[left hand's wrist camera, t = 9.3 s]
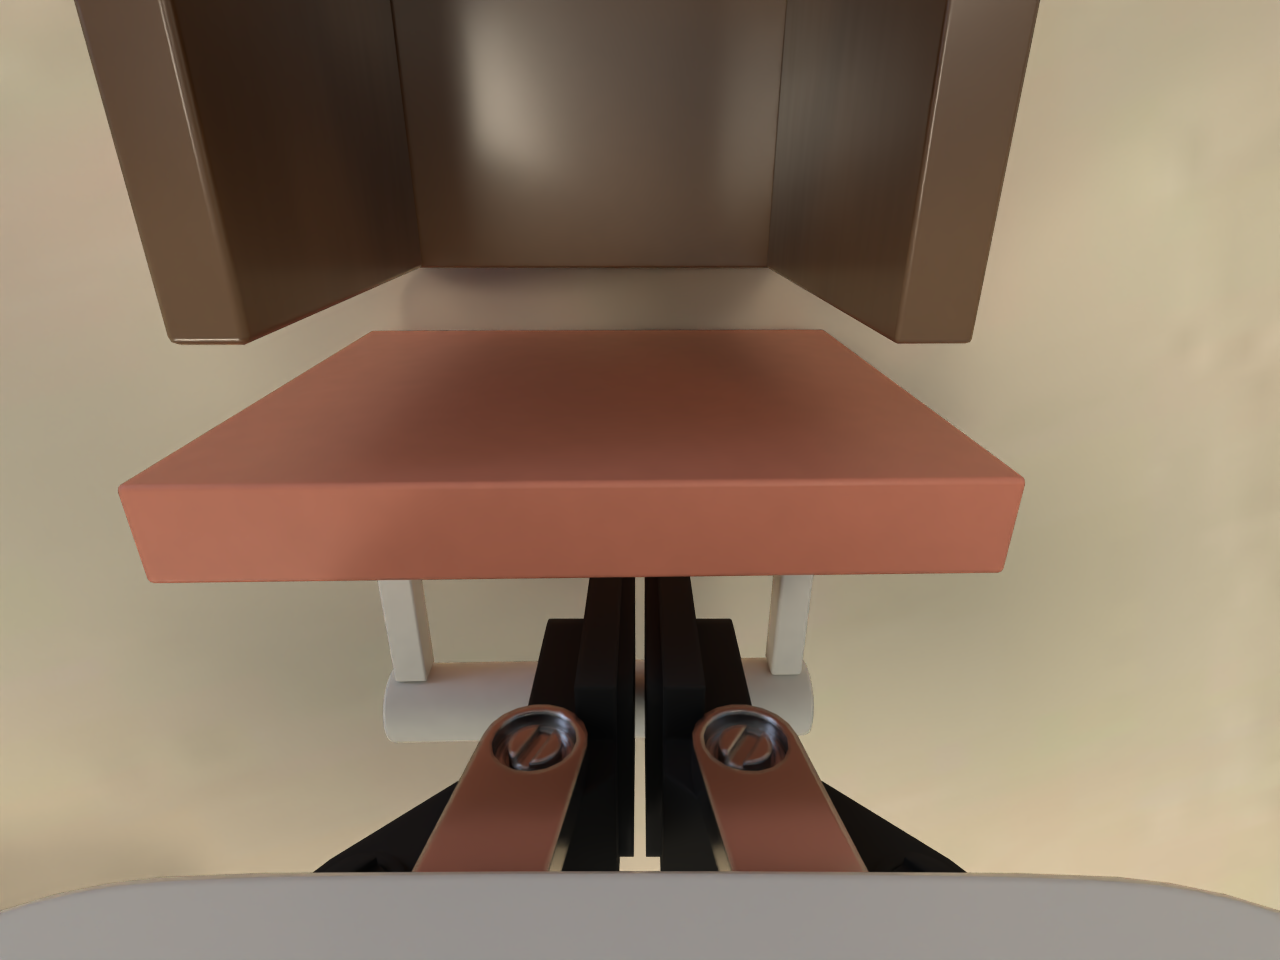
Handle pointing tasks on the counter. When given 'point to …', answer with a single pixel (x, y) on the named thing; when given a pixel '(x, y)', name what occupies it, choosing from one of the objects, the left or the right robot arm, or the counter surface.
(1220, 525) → the counter surface
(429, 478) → the drawer
